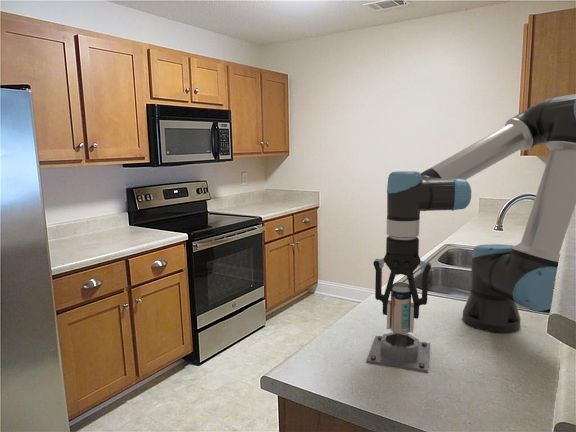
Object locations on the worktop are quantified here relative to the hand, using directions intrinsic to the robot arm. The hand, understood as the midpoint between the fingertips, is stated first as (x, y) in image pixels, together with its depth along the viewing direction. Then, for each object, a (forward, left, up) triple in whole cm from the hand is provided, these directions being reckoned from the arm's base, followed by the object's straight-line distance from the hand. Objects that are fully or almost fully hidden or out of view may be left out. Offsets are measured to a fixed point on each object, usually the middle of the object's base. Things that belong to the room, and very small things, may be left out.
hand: (400, 328), depth 101 cm
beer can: (0, 0, -1) cm, 1 cm away
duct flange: (0, 0, -7) cm, 7 cm away
